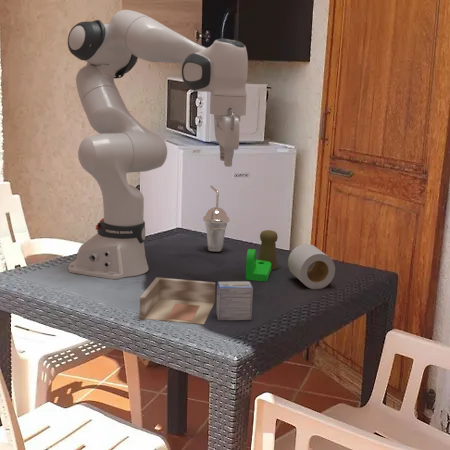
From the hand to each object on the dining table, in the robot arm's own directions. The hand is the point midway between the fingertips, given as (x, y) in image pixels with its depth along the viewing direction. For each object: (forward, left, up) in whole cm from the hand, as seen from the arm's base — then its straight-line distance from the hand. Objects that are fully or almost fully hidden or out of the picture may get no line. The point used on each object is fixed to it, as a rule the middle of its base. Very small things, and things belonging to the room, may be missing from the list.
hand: (225, 163), depth 167 cm
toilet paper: (+23, +14, -34) cm, 44 cm away
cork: (+10, +26, -34) cm, 44 cm away
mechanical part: (+8, +18, -34) cm, 39 cm away
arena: (-8, -17, -34) cm, 39 cm away
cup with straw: (-8, +40, -34) cm, 54 cm away
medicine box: (+6, -18, -34) cm, 39 cm away
